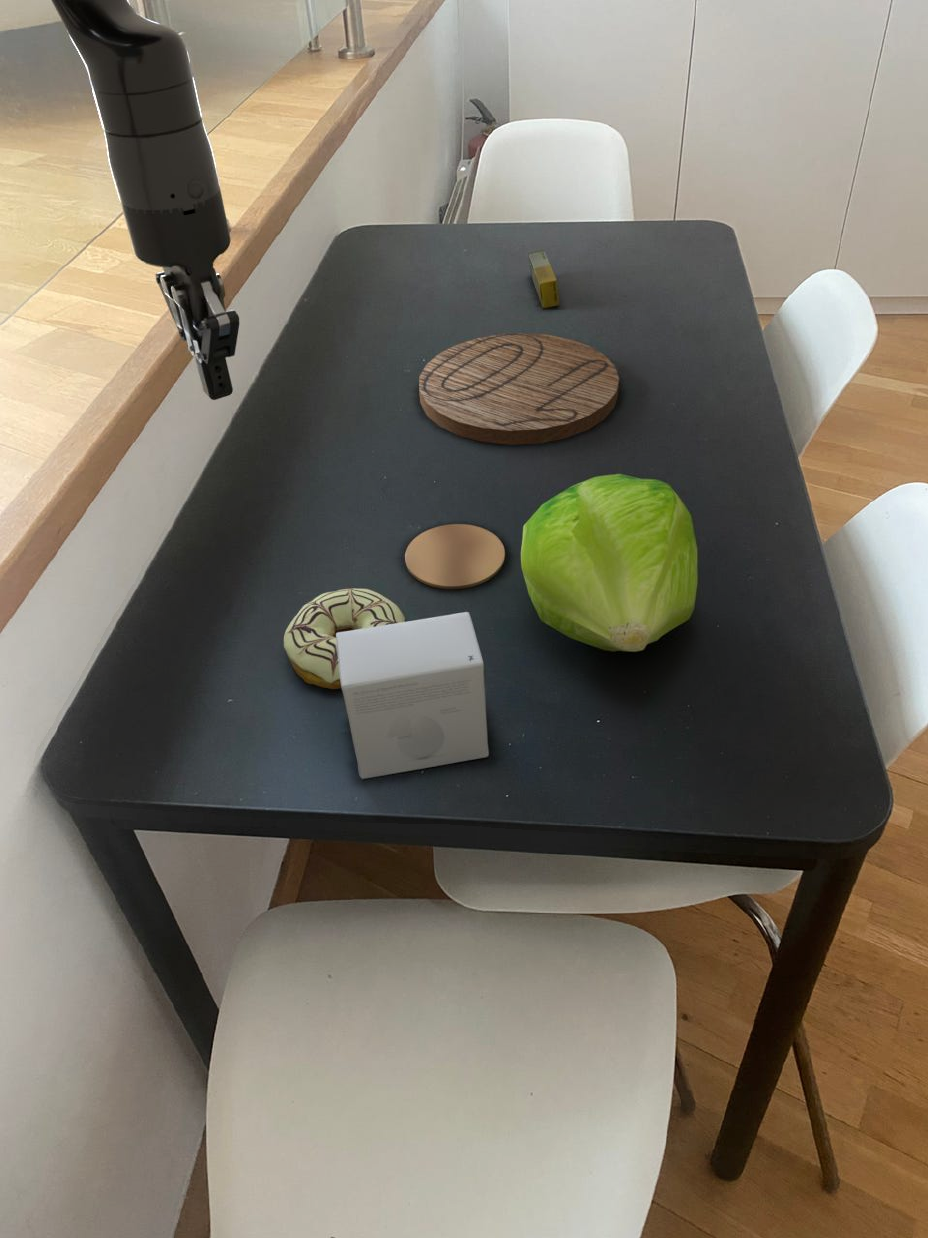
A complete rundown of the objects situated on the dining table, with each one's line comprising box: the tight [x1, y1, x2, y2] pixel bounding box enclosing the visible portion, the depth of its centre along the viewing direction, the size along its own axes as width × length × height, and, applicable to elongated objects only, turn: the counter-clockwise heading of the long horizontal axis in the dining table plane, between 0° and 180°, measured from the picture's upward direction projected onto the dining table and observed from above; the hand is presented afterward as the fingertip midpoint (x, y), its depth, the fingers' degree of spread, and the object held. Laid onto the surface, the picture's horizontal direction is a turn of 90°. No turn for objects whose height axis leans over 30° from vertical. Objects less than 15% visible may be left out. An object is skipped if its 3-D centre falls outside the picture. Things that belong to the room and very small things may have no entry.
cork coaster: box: [404, 523, 506, 590], centre depth 92 cm, size 10×10×1 cm
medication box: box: [528, 249, 560, 309], centre depth 136 cm, size 12×3×4 cm, turn 5°
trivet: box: [418, 332, 620, 446], centre depth 116 cm, size 25×25×2 cm
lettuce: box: [520, 473, 699, 653], centre depth 79 cm, size 15×20×14 cm
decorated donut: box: [283, 587, 406, 690], centre depth 81 cm, size 10×11×4 cm
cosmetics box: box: [336, 611, 490, 780], centre depth 71 cm, size 10×6×10 cm, turn 100°
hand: (219, 394), depth 81 cm, fingers closed
